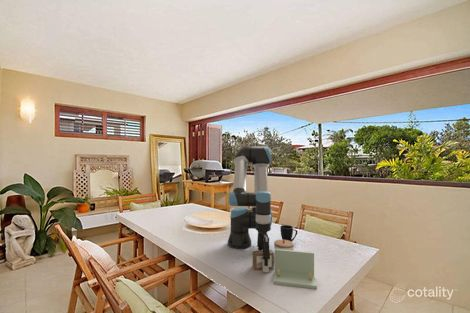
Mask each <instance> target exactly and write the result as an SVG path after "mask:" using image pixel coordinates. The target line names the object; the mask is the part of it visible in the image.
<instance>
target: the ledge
mask: <svg viewBox="0 0 470 313" xmlns="http://www.w3.org/2000/svg"><path fill="white" fill-rule="evenodd" d="M273 272H274V273H273V284H274V285H282V286H290V287H295V288H296V287H297V288H305V289H313V290H317V289H318V286H317V281H316V277H315V252H314V251H313V252H311V251H302V250H294V249H293V250H281V249H275V248H274V271H273Z"/></svg>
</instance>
